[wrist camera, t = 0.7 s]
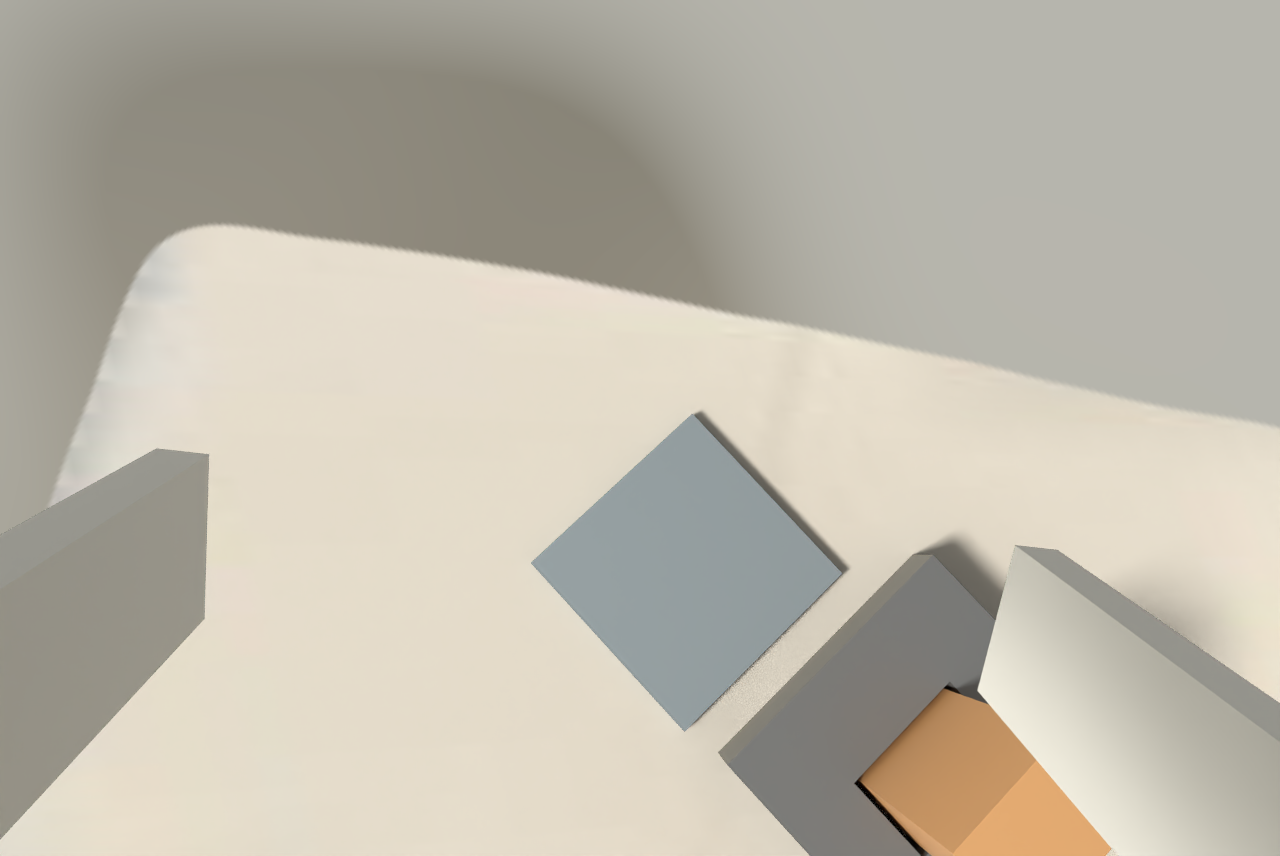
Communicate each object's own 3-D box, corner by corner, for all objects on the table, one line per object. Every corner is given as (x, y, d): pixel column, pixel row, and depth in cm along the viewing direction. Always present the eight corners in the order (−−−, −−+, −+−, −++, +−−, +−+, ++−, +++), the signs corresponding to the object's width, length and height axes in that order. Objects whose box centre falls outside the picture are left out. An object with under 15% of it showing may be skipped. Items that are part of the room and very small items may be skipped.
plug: (984, 742, 43) (1141, 813, 31) (902, 831, 42) (1032, 940, 30) (927, 682, 43) (1063, 731, 31) (845, 769, 42) (952, 853, 30)
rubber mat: (838, 573, 43) (842, 573, 43) (682, 729, 42) (684, 731, 41) (690, 415, 44) (692, 413, 43) (531, 562, 42) (530, 562, 42)
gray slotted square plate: (1106, 759, 43) (1139, 772, 40) (919, 972, 41) (941, 999, 38) (912, 554, 44) (933, 554, 41) (718, 752, 42) (727, 764, 39)
